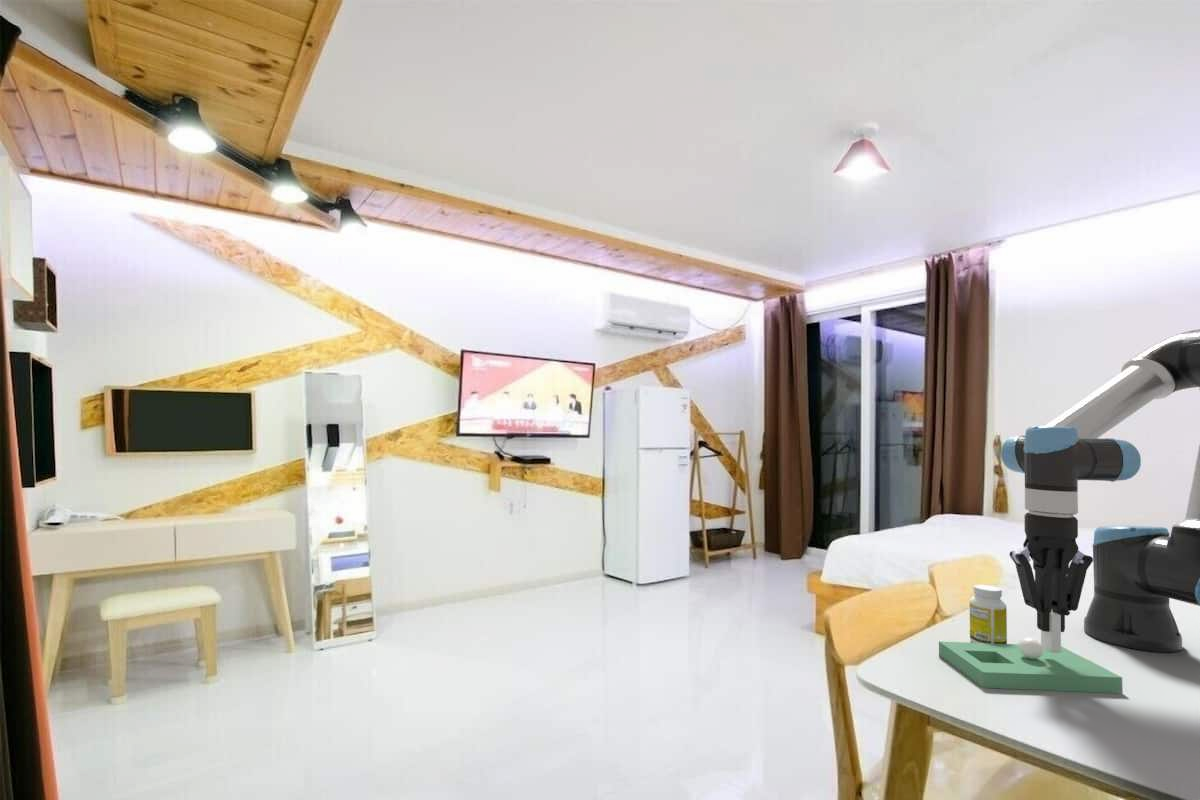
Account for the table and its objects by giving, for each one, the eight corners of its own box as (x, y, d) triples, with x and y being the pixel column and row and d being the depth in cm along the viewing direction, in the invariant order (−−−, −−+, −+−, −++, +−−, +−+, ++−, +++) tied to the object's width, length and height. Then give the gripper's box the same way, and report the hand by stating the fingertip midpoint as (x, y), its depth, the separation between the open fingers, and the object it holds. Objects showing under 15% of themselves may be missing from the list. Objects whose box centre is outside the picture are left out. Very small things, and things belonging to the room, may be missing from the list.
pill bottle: (1001, 641, 121) (1001, 585, 122) (1011, 651, 115) (1011, 593, 116) (966, 636, 123) (966, 582, 124) (974, 647, 117) (973, 589, 118)
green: (1060, 659, 112) (1060, 645, 112) (1122, 693, 98) (1122, 677, 98) (938, 655, 113) (938, 641, 113) (982, 687, 99) (982, 672, 99)
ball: (1018, 631, 107) (1010, 649, 107) (1031, 638, 104) (1024, 657, 104) (1036, 639, 107) (1029, 657, 107) (1051, 646, 104) (1043, 665, 104)
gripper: (1073, 512, 110) (1073, 643, 109) (999, 509, 110) (999, 640, 109) (1105, 518, 102) (1106, 660, 101) (1026, 515, 103) (1026, 656, 102)
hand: (1050, 649), depth 105 cm, fingers closed
